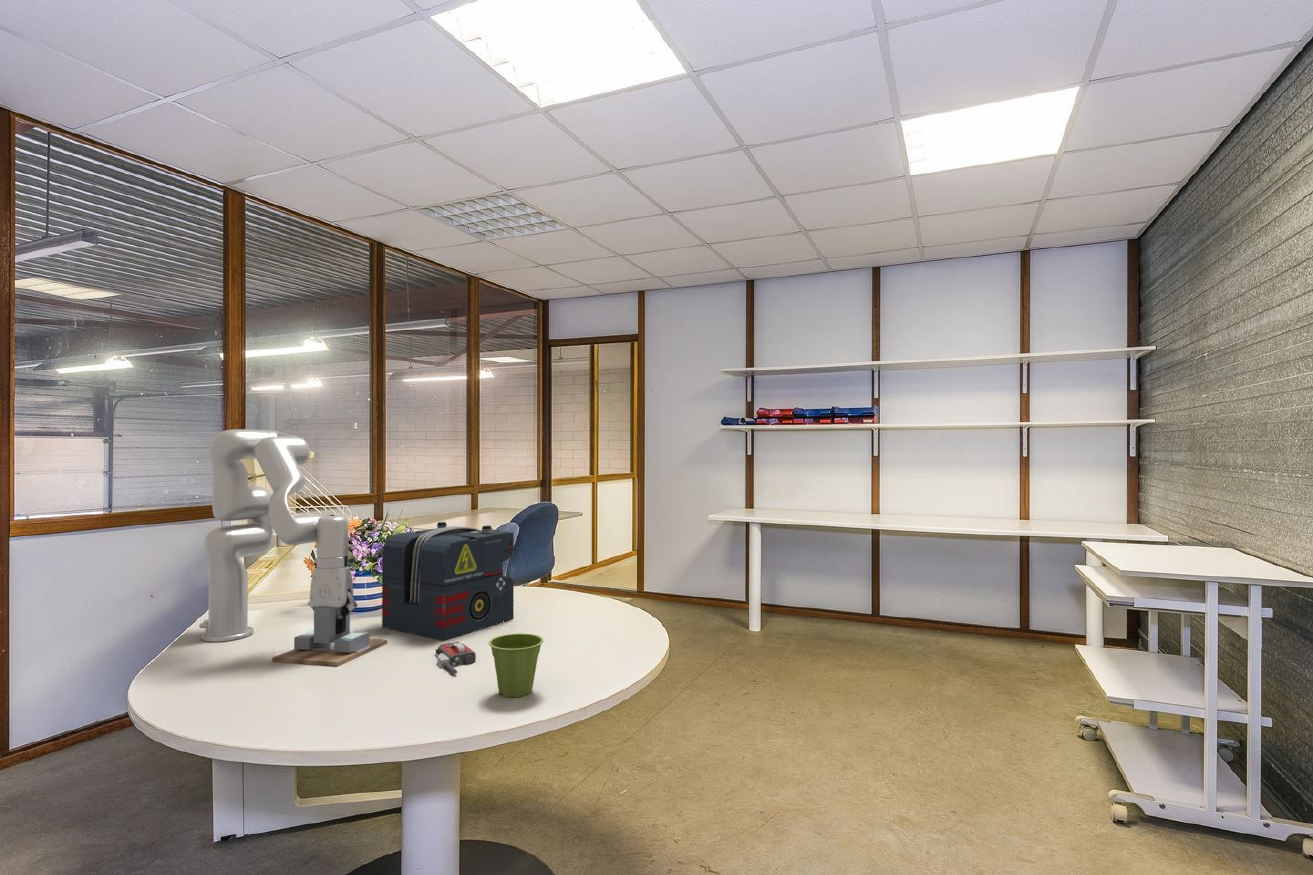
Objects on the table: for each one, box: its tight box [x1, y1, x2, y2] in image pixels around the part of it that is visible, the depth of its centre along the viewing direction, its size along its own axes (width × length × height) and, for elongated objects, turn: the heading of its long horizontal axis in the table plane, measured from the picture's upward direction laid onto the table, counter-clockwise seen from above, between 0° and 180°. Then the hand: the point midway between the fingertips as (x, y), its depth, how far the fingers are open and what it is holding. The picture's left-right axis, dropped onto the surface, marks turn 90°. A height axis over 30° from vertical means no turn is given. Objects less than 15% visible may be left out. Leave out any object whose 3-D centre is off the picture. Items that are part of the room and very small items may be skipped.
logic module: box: [313, 604, 351, 644], centre depth 175 cm, size 4×8×9 cm, turn 168°
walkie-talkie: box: [435, 640, 476, 674], centre depth 166 cm, size 9×4×20 cm
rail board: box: [271, 629, 388, 667], centre depth 175 cm, size 19×20×5 cm
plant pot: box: [488, 632, 544, 698], centre depth 146 cm, size 12×12×11 cm
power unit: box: [381, 521, 515, 641], centre depth 204 cm, size 28×28×30 cm
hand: (332, 631), depth 175 cm, fingers closed on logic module, 4 cm apart
